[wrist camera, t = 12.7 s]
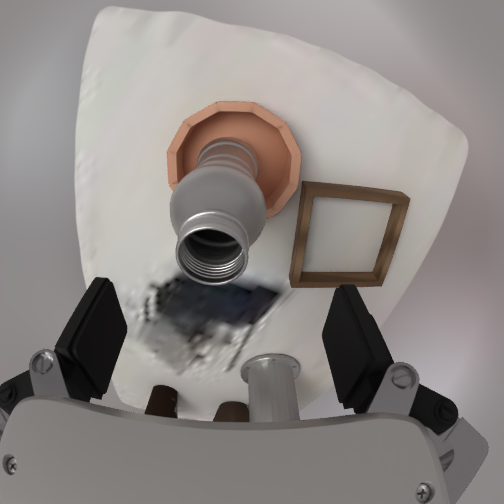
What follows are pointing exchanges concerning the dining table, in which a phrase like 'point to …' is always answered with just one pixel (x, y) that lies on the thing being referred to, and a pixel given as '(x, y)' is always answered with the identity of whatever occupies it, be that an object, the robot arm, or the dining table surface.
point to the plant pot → (232, 412)
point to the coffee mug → (162, 402)
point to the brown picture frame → (386, 250)
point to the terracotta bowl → (250, 131)
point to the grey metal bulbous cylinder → (218, 212)
